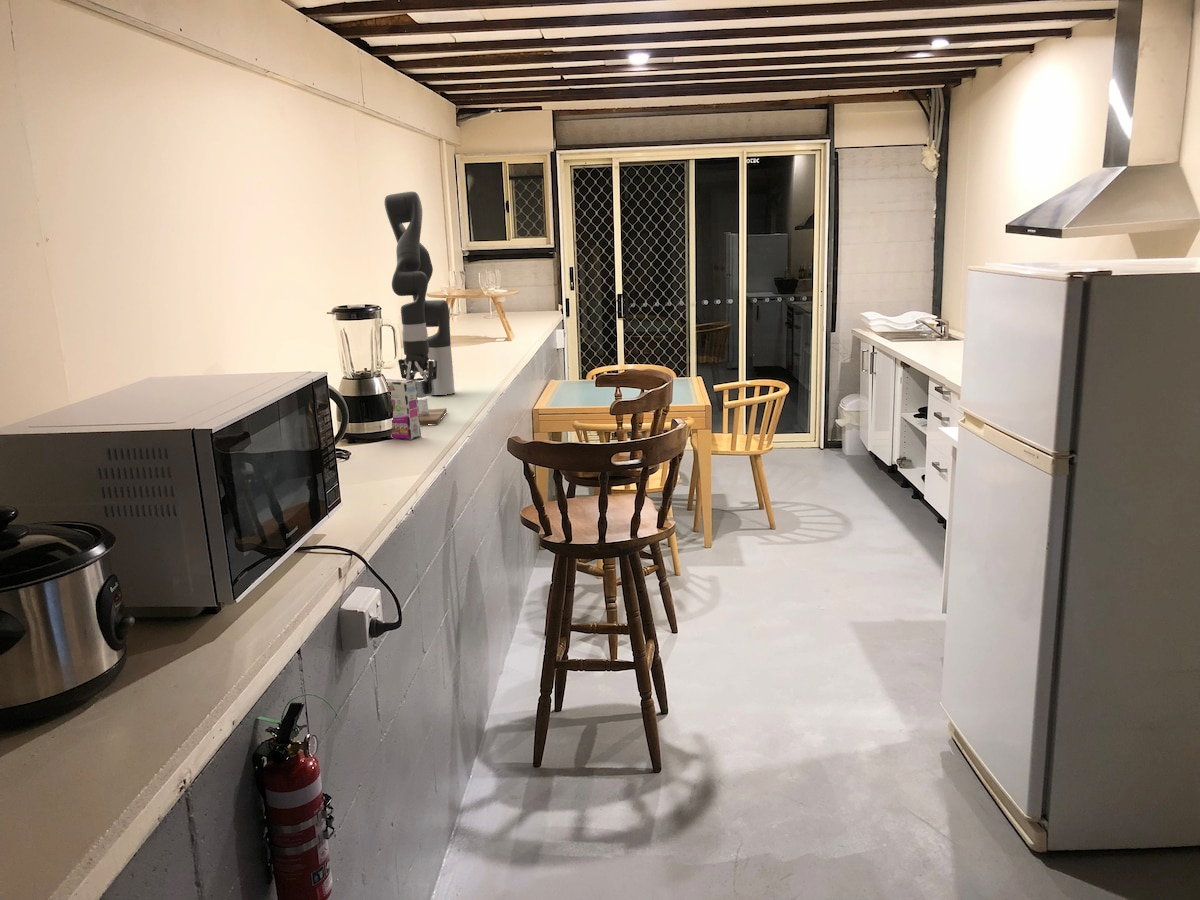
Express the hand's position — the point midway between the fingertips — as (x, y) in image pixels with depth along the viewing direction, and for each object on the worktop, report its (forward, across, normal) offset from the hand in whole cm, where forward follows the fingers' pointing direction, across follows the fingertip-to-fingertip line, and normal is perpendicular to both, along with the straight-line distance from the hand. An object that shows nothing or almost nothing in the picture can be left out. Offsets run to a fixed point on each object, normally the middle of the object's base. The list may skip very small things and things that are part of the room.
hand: (420, 392), depth 277 cm
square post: (+7, 0, 0) cm, 7 cm away
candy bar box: (+9, +11, -21) cm, 25 cm away
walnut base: (+8, 0, 0) cm, 8 cm away
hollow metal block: (+1, 0, 0) cm, 1 cm away
